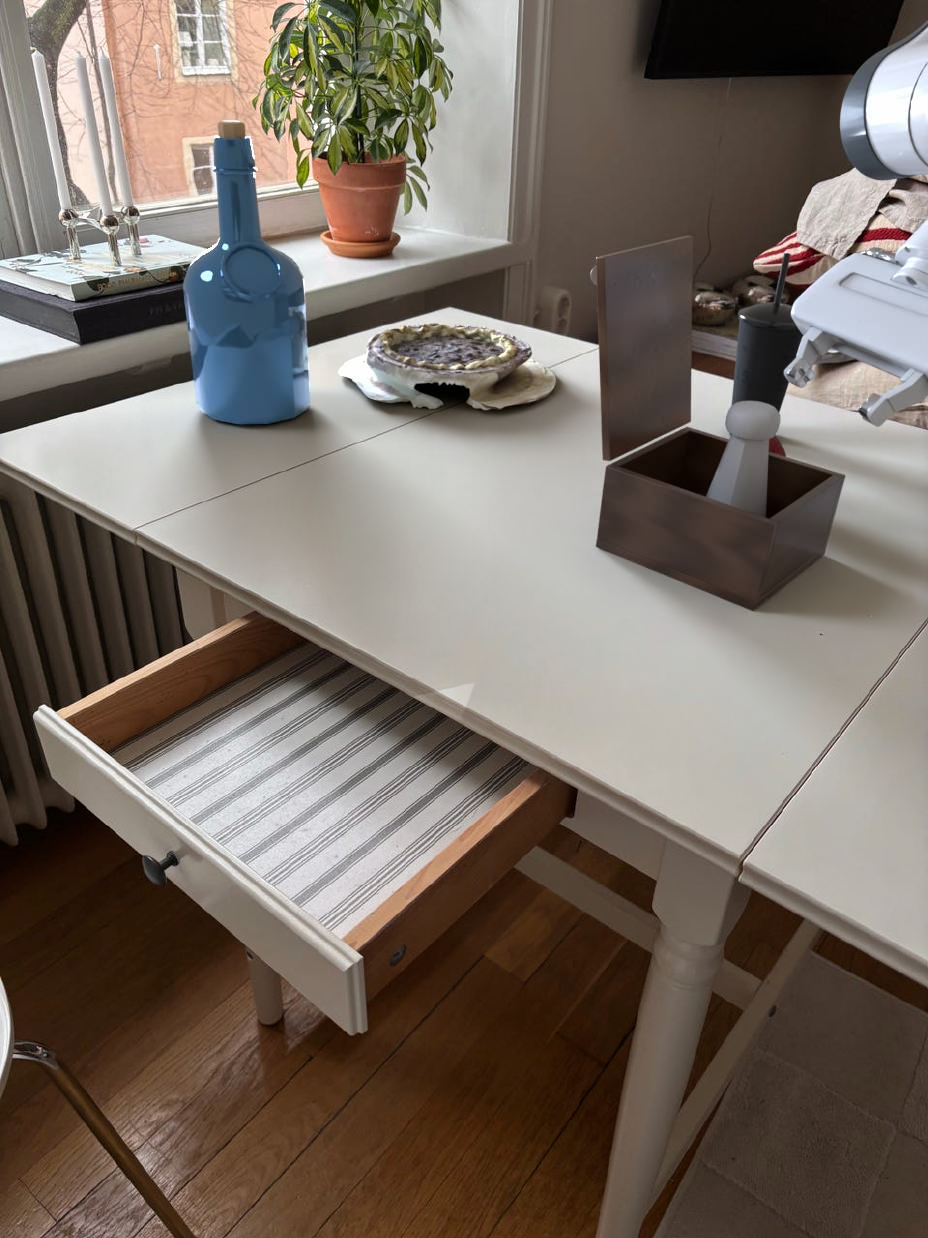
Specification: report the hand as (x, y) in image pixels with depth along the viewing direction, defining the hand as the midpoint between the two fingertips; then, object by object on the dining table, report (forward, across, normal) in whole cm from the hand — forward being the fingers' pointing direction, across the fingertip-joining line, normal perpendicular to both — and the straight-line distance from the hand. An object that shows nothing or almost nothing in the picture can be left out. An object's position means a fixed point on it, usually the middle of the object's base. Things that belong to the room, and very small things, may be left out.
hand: (827, 399), depth 79 cm
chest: (+15, -2, +5) cm, 16 cm away
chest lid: (+6, -10, -10) cm, 15 cm away
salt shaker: (+14, -1, +5) cm, 15 cm away
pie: (+19, -53, +1) cm, 56 cm away
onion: (+8, -10, +12) cm, 18 cm away
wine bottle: (+38, -49, -18) cm, 64 cm away
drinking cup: (+1, -25, +20) cm, 32 cm away
